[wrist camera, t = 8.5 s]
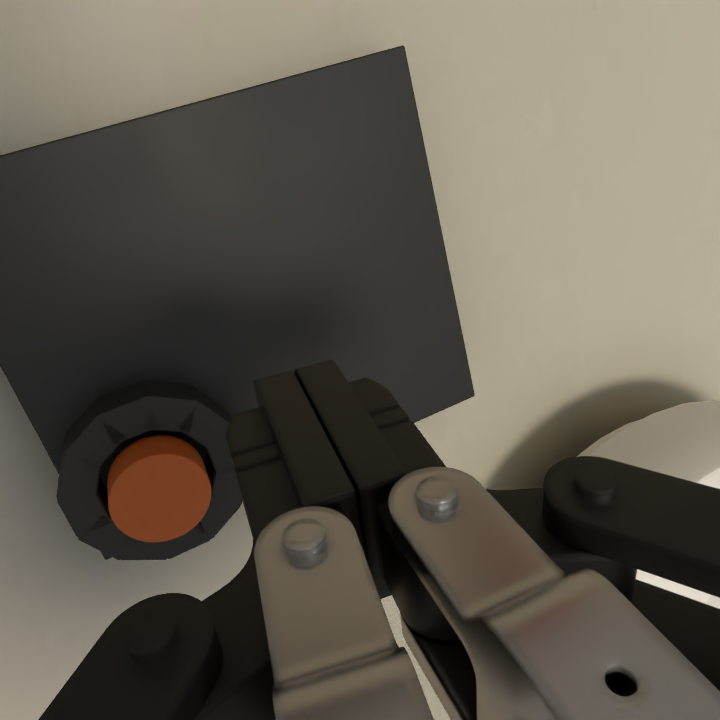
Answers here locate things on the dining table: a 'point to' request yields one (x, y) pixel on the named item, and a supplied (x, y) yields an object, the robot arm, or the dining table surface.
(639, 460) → the bowl
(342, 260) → the scale
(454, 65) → the dining table surface
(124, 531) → the button
